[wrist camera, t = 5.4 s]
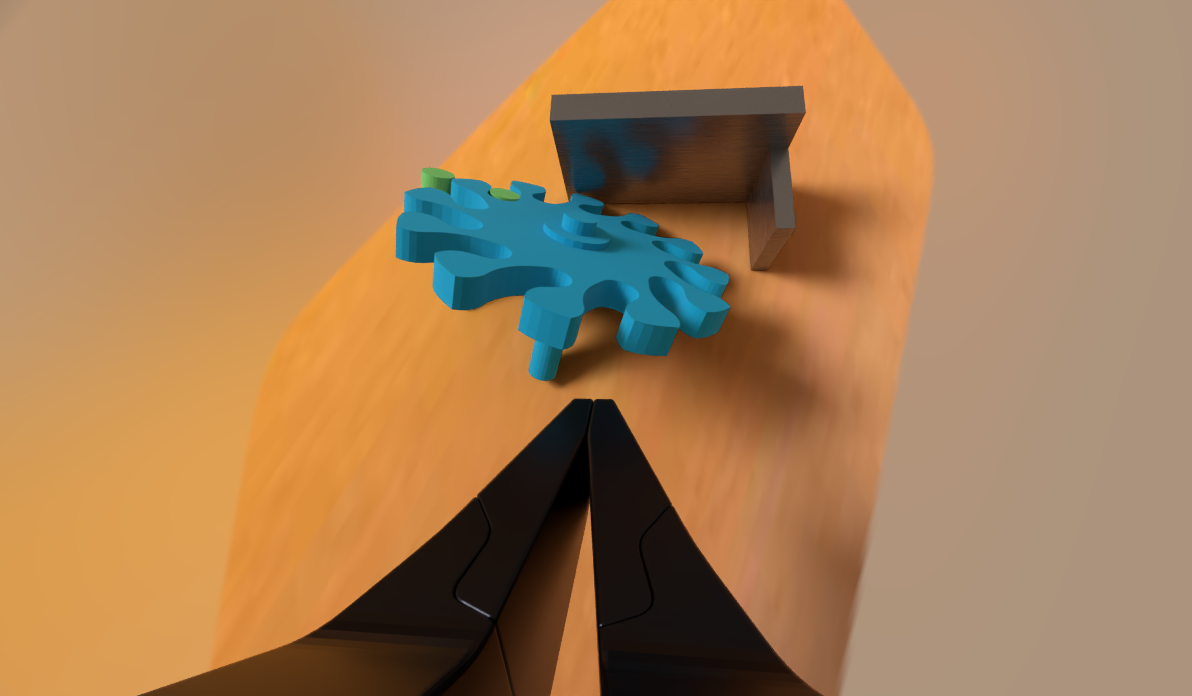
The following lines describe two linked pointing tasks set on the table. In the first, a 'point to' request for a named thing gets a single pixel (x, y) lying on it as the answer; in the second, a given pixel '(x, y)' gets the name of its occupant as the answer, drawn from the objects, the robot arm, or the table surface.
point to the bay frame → (686, 152)
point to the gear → (558, 264)
